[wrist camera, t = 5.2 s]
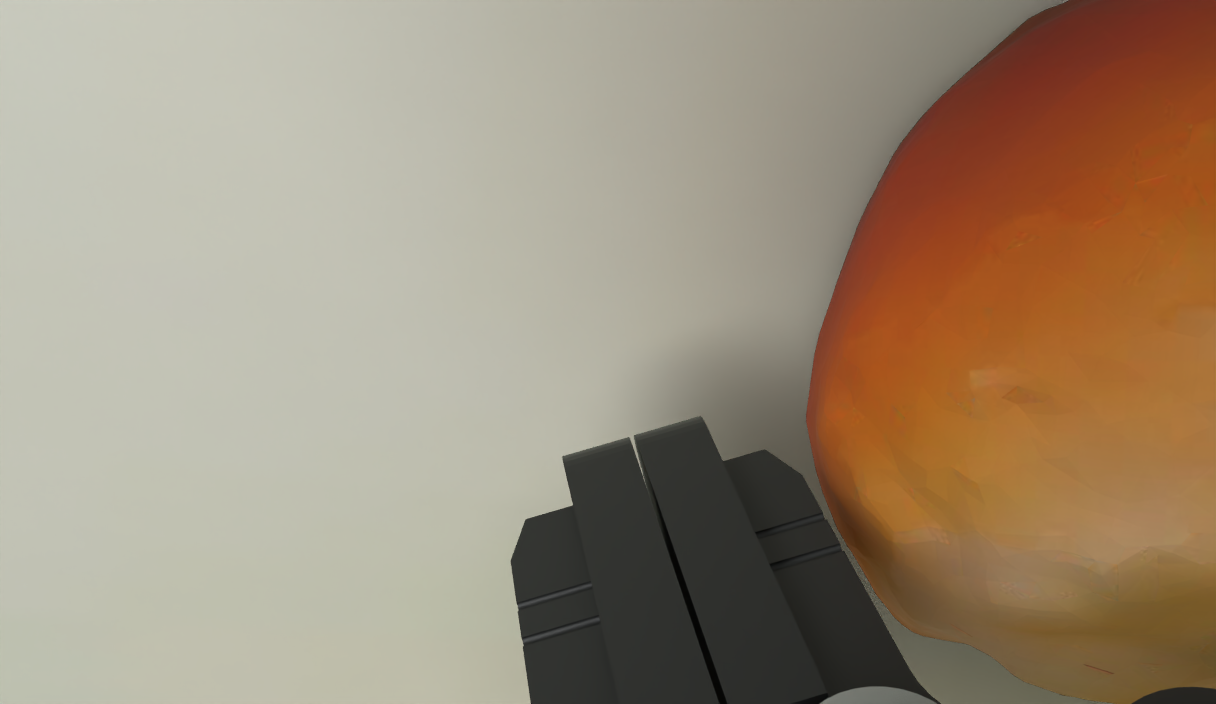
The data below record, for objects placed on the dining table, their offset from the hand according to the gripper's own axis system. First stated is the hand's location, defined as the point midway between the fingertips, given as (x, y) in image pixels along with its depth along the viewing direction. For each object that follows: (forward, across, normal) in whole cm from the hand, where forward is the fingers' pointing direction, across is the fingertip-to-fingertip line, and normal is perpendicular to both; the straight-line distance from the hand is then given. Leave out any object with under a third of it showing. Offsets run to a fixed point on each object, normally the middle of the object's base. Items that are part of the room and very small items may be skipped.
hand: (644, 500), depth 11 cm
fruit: (+3, -6, 0) cm, 7 cm away
